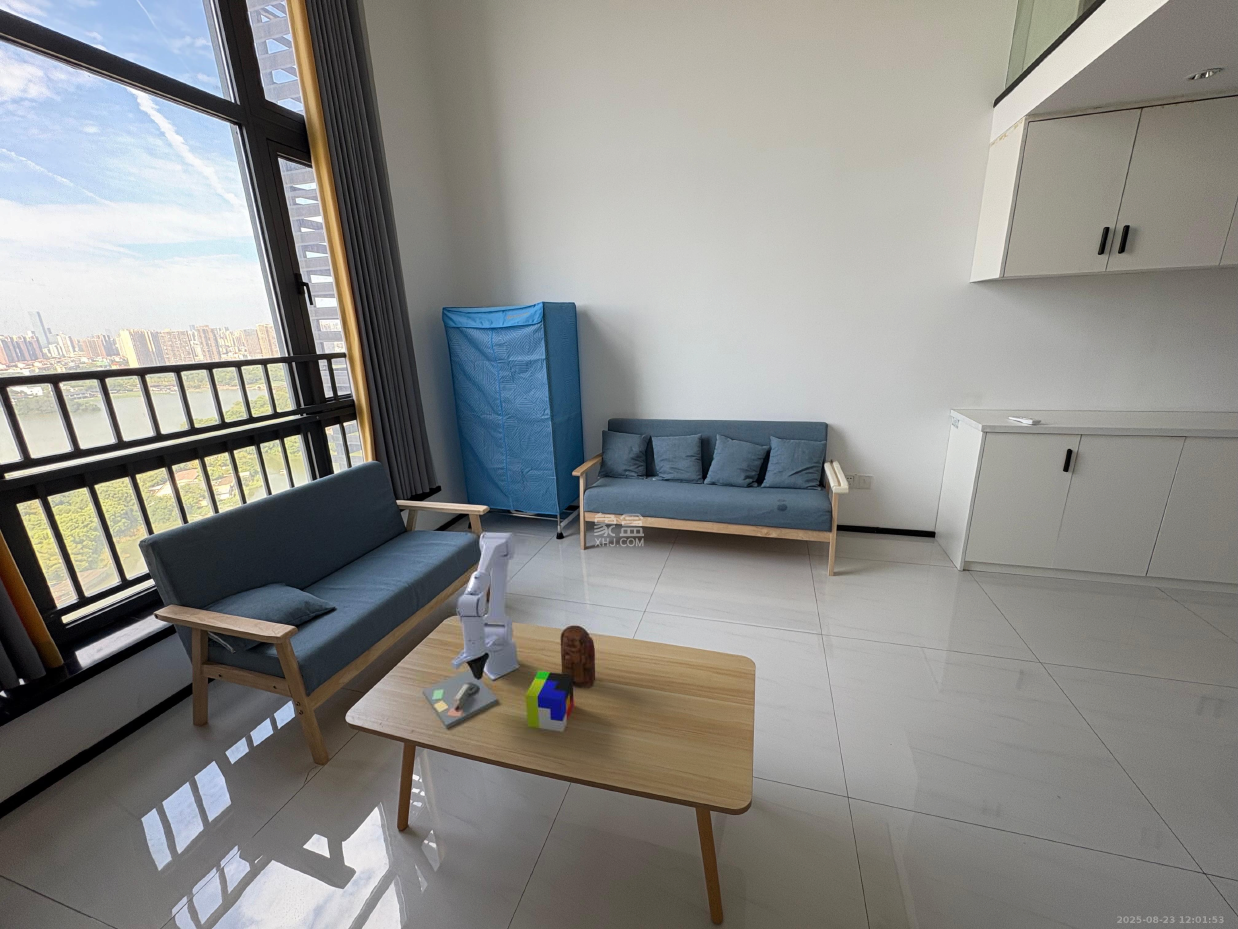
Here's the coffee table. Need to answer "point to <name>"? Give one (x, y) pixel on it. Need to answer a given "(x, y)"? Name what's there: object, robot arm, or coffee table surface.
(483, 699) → the tuner board
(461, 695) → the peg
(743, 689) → the coffee table surface
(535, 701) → the puzzle toy
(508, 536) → the robot arm
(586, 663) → the wooden figurine
